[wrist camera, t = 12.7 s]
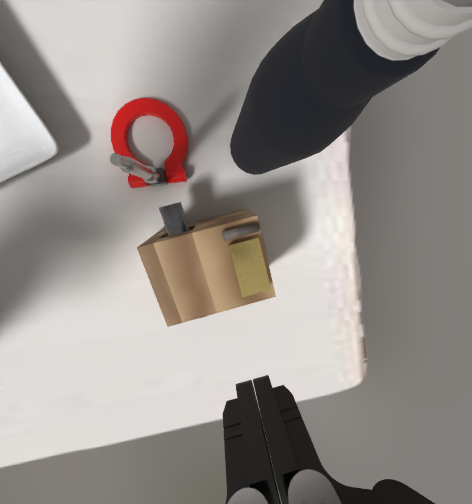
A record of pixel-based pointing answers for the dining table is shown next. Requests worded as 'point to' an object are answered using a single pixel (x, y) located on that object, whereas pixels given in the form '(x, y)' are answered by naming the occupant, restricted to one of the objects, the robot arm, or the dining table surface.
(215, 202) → the dining table surface
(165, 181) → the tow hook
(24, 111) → the salad plate
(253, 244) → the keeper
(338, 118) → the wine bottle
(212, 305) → the block
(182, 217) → the pin
